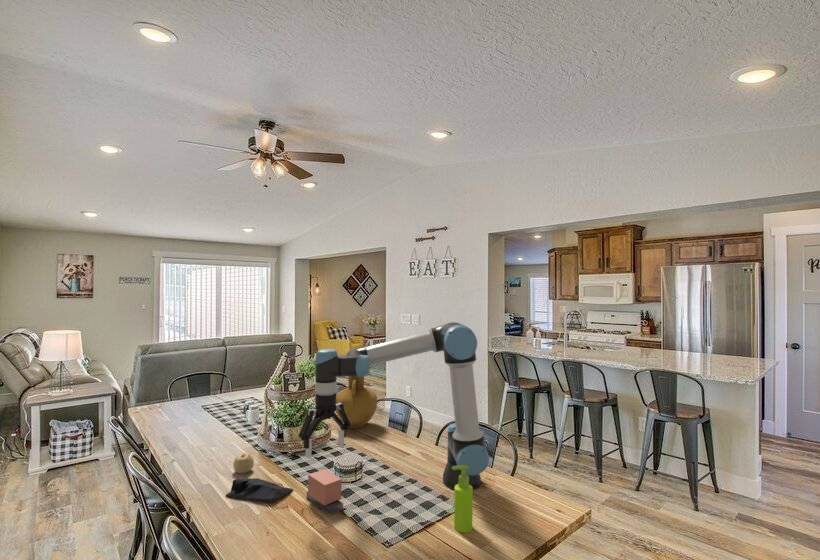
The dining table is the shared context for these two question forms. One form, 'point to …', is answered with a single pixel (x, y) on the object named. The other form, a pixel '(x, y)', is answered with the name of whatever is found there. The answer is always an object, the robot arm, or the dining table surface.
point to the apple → (243, 463)
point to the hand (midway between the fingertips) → (325, 452)
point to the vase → (357, 402)
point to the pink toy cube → (324, 486)
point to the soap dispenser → (463, 501)
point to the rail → (330, 507)
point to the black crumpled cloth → (257, 490)
